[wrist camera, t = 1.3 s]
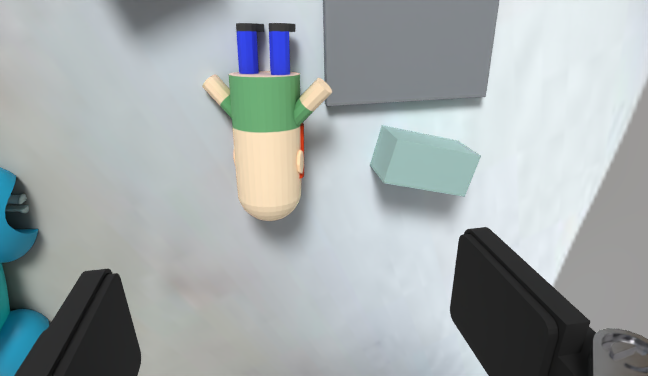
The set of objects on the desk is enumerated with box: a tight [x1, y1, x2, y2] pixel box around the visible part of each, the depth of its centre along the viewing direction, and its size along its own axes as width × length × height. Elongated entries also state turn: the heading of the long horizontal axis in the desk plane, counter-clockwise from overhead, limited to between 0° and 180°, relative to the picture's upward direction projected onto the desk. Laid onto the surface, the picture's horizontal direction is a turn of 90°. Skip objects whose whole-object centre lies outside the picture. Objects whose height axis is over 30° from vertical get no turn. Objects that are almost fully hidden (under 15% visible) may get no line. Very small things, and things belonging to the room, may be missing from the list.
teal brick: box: [370, 125, 481, 197], centre depth 28 cm, size 6×3×4 cm, turn 76°
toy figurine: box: [203, 23, 332, 221], centre depth 25 cm, size 8×4×12 cm
